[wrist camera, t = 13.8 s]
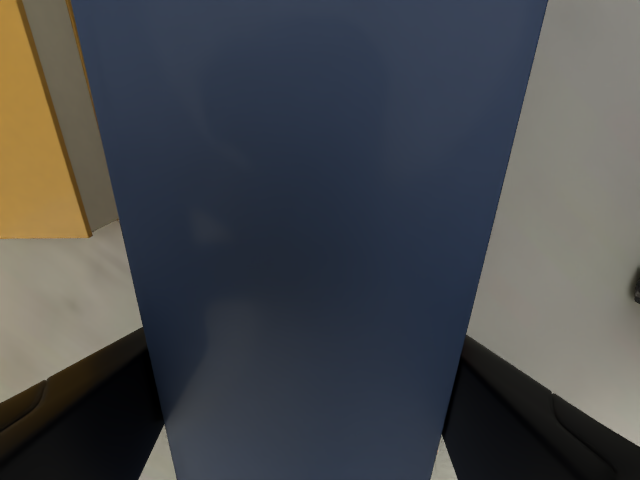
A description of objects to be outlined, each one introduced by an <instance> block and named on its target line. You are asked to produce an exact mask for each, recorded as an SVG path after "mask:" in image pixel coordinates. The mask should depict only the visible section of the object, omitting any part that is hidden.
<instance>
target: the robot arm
mask: <svg viewBox="0 0 640 480" xmlns="http://www.w3.org/2000/svg"><path fill="white" fill-rule="evenodd" d="M163 426H164V419H163V415H162V410H161V406H160V401H159V397H158V392H157V387H156V383H155V378H154V374H153V370H152V365H151V360H150V356H149V351H148V347H147V343H146V338H145V333H144V329H143V327H142V328H140V329H138V330H136V331H134V332H132V333H130V334H129V335H127V336H125V337H123V338H121V339H119V340H117V341H116V342H114V343H112V344H110V345H108V346H106V347H105V348H103V349H101V350H99V351H97V352H95V353H93V354H92V355H90V356H88V357H86V358H84V359H82V360H80V361H79V362H77V363H75V364H73V365H71V366H69V367H67V368H66V369H64V370H62V371H60V372H58V373H56V374H54V375H53V376H51V377H49V378H48V379H47V381H46V380H43V381H41V382H40V383H38V384H36V385H34V386H32V387H30V388H29V389H27V390H25V391H23V392H21V393H19V394H17V395H15V396H13V397H11V398H10V399H8V400H6V401H4V402H2V403H0V480H138V479H139V477H140V475H141V473H142V471H143V468H144V466H145V464H146V462H147V460H148V458H149V456H150V454H151V451H152V449H153V447H154V445H155V443H156V441H157V439H158V436H159V434H160V432H161V430H162V428H163ZM442 436H443V439H444V442H445V445H446V448H447V450H448V453H449V456H450V459H451V462H452V464H453V467H454V470H455V473H456V476H457V478H458V480H640V447H639V446H637V445H635V444H634V443H632V442H630V441H629V440H627V439H625V438H624V437H622V436H620V435H619V434H617V433H616V432H614V431H612V430H611V429H609V428H607V427H606V426H604V425H602V424H601V423H599V422H598V421H596V420H594V419H593V418H591V417H590V416H588V415H587V414H585V413H584V412H582V411H581V410H579V409H577V408H576V407H574V406H573V405H571V404H570V403H568V402H567V401H565V400H564V399H562V398H561V397H559V396H558V395H556V394H554V393H553V394H552V392H551V391H550V390H549V389H547V388H546V387H544V386H543V385H541V384H540V383H538V382H537V381H535V380H534V379H532V378H531V377H529V376H528V375H526V374H525V373H523V372H522V371H520V370H519V369H517V368H516V367H514V366H513V365H511V364H510V363H508V362H507V361H505V360H504V359H502V358H501V357H499V356H498V355H496V354H495V353H493V352H492V351H490V350H489V349H487V348H486V347H484V346H483V345H481V344H480V343H478V342H477V341H475V340H474V339H472V338H471V337H469V336H468V335H466V336H465V341H464V345H463V349H462V353H461V357H460V361H459V365H458V369H457V373H456V377H455V381H454V385H453V389H452V393H451V397H450V402H449V406H448V410H447V414H446V418H445V422H444V426H443V430H442Z"/></svg>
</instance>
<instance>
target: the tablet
mask: <svg viewBox="0 0 640 480" xmlns="http://www.w3.org/2000/svg"><path fill="white" fill-rule="evenodd" d="M635 301H636V302H637V303H639V304H640V279H639V280H638V282H637V285H636V288H635Z"/></svg>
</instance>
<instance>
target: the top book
mask: <svg viewBox="0 0 640 480" xmlns="http://www.w3.org/2000/svg"><path fill="white" fill-rule="evenodd" d="M115 220H119V216H118V212H117V207H116V203H115V198H114V194H113V189H112V185H111V180H110V176H109V171H108V167H107V162H106V158H105V153H104V149H103V144H102V140H101V135H100V131H99V126H98V122H97V117H96V113H95V108H94V104H93V99H92V95H91V90H90V86H89V81H88V77H87V72H86V68H85V63H84V59H83V54H82V50H81V45H80V41H79V36H78V32H77V27H76V23H75V18H74V14H73V9H72V5H71V0H0V239H9V238H90V237H91V236H93V235H92V232H93V231H95V230H97V229H99V228H101V227H103V226H105V225H107V224H109V223H111V222H113V221H115Z"/></svg>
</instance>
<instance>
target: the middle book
mask: <svg viewBox="0 0 640 480" xmlns="http://www.w3.org/2000/svg"><path fill="white" fill-rule="evenodd" d="M547 3H548V0H71V5H72V9H73V14H74V18H75V23H76V27H77V32H78V36H79V41H80V45H81V50H82V54H83V59H84V63H85V68H86V72H87V77H88V81H89V86H90V90H91V95H92V99H93V104H94V108H95V113H96V117H97V122H98V126H99V131H100V135H101V140H102V144H103V149H104V153H105V158H106V162H107V167H108V171H109V176H110V180H111V185H112V189H113V194H114V198H115V203H116V207H117V212H118V216H119V221H120V225H121V230H122V234H123V239H124V243H125V248H126V252H127V257H128V261H129V266H130V270H131V275H132V279H133V284H134V288H135V293H136V297H137V302H138V306H139V311H140V315H141V320H142V324H143V329H144V333H145V338H146V343H147V347H148V351H149V356H150V360H151V365H152V370H153V374H154V378H155V383H156V387H157V392H158V397H159V401H160V406H161V410H162V415H163V419H164V424H165V428H166V433H167V437H168V442H169V446H170V451H171V455H172V460H173V464H174V469H175V473H176V478H177V480H430V479H431V475H432V471H433V467H434V463H435V458H436V454H437V450H438V446H439V442H440V438H441V434H442V430H443V426H444V422H445V418H446V414H447V410H448V406H449V402H450V397H451V393H452V389H453V385H454V381H455V377H456V373H457V369H458V365H459V361H460V357H461V353H462V349H463V345H464V341H465V336H466V332H467V328H468V324H469V320H470V316H471V312H472V308H473V304H474V300H475V296H476V292H477V288H478V284H479V279H480V275H481V271H482V267H483V263H484V259H485V255H486V251H487V247H488V243H489V239H490V235H491V231H492V227H493V223H494V218H495V214H496V210H497V206H498V202H499V198H500V194H501V190H502V186H503V182H504V178H505V174H506V170H507V166H508V162H509V157H510V153H511V149H512V145H513V141H514V137H515V133H516V129H517V125H518V121H519V117H520V113H521V109H522V105H523V101H524V96H525V92H526V88H527V84H528V80H529V76H530V72H531V68H532V64H533V60H534V56H535V52H536V48H537V44H538V40H539V35H540V31H541V27H542V23H543V19H544V15H545V11H546V7H547Z"/></svg>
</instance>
